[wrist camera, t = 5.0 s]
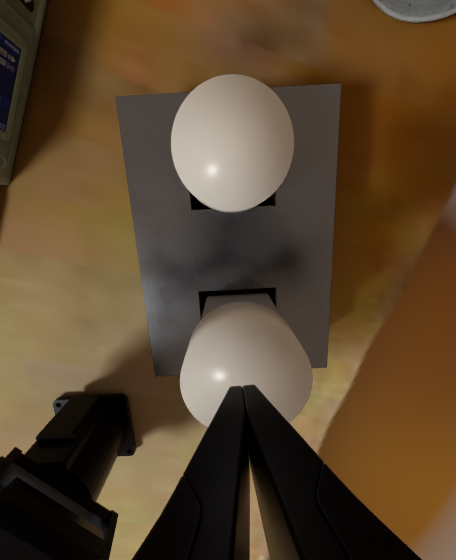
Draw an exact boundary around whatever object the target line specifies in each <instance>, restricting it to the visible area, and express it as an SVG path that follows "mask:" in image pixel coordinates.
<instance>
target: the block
mask: <svg viewBox="0 0 456 560" xmlns="http://www.w3.org/2000/svg"><path fill="white" fill-rule="evenodd" d="M372 1H373V2H374V3H375V5H376V6H377V7H378V8H379V9H380V10H381V11H383V12H384V13H385V14H386V15H388V16H390V17H393V18H395V19H397V20H400V21H404V22H413V23H419V22H429V21H435V20H438V19H442V18H445V17H448V16H450V15H453V14H455V13H456V0H372Z"/></svg>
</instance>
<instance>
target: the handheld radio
mask: <svg viewBox="0 0 456 560" xmlns="http://www.w3.org/2000/svg"><path fill="white" fill-rule="evenodd" d="M47 1H48V0H0V185H4V186H5V185H8V184H9V182H10V178H11V173H12V168H13V164H14V159H15V154H16V149H17V144H18V140H19V135H20V130H21V125H22V120H23V116H24V111H25V106H26V101H27V97H28V92H29V87H30V82H31V77H32V73H33V68H34V63H35V58H36V53H37V49H38V44H39V39H40V34H41V29H42V25H43V20H44V15H45V10H46V5H47Z"/></svg>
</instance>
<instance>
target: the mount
mask: <svg viewBox="0 0 456 560" xmlns="http://www.w3.org/2000/svg"><path fill="white" fill-rule="evenodd" d="M269 88H270V89H271V90H272V91H273V92H274V93H276V95H277V96H278V97H279V98H280V100H281V101H282V103H283V104H284V106H285V108H286V110H287V112H288V114H289V116H290V120H291V123H292V127H293V133H294V152H293V157H292V162H291V165H290V168H289V171H288V173H287V175H286V177H285V179H284V180H283V182H282V184H281V185H280V186H279V188H278V189H277V190H276V191H275V192H274V193H273V194H272V206H258V207H253V208H251V209H249V210H246V211H243V212H238V213H224V212H219V211H216V210H214V209H204V210H193V200H192V193H191V192H190V191H189V190H188V189H187V188H186V186H185V185H184V184H183V182H182V181H181V179H180V177H179V175H178V173H177V171H176V168H175V165H174V162H173V158H172V152H171V133H172V127H173V123H174V120H175V117H176V114H177V112H178V110H179V108H180V106H181V104H182V103H183V101H184V100H185V98H186V97H187V96H188V95H189V94H190V93H191V92H182V93H165V94H148V95H130V96H115V98H116V105H117V112H118V119H119V126H120V133H121V140H122V147H123V154H124V161H125V168H126V175H127V182H128V189H129V196H130V203H131V210H132V217H133V224H134V231H135V238H136V245H137V252H138V259H139V266H140V273H141V280H142V287H143V294H144V301H145V308H146V314H147V321H148V328H149V335H150V342H151V349H152V356H153V363H154V370H155V377H156V376H175V375H180V373H181V369H182V365H183V362H184V358H185V355H186V352H187V349H188V345H189V342H190V339H191V336H192V333H193V331H194V329H195V328H196V326H197V324H198V323H199V322H200V321H201V318H202V307H201V295H200V291H218V290H236V289H255V288H273V303H274V305H275V307H276V308H277V310H278V312H279V313H280V315H281V317H282V318H283V319H284V320H285V321H286V322H287V324H288V325H289V327H290V328H291V330H292V331H293V333H294V335H295V336H296V338H297V339H298V341H299V343H300V344H301V346H302V348H303V349H304V351H305V353H306V354H307V356H308V358H309V361H310V364H311V368H327V356H328V336H329V316H330V296H331V276H332V256H333V236H334V216H335V196H336V176H337V157H338V137H339V117H340V97H341V83H339V84H321V85H304V86H287V87H269Z"/></svg>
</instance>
